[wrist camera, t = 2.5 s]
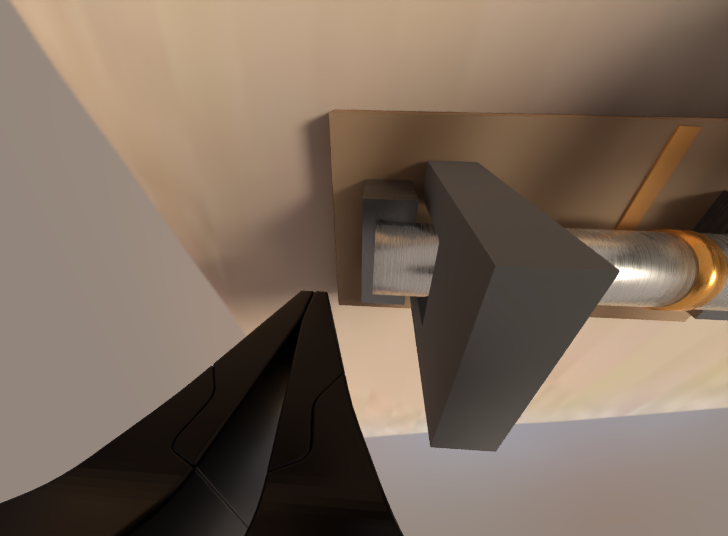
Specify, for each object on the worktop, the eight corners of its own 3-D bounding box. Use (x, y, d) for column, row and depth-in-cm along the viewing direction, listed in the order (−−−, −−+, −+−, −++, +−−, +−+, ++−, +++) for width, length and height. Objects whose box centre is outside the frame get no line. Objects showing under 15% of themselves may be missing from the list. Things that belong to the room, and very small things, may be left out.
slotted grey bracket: (477, 162, 11) (620, 271, 4) (445, 292, 14) (495, 451, 8) (427, 160, 11) (496, 265, 4) (408, 290, 15) (430, 446, 8)
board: (822, 120, 11) (884, 125, 9) (661, 303, 16) (686, 322, 15) (334, 109, 11) (328, 112, 10) (341, 289, 17) (338, 306, 16)
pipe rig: (774, 191, 11) (950, 237, 8) (688, 286, 14) (788, 350, 10) (366, 179, 12) (359, 216, 8) (364, 272, 14) (358, 328, 11)
